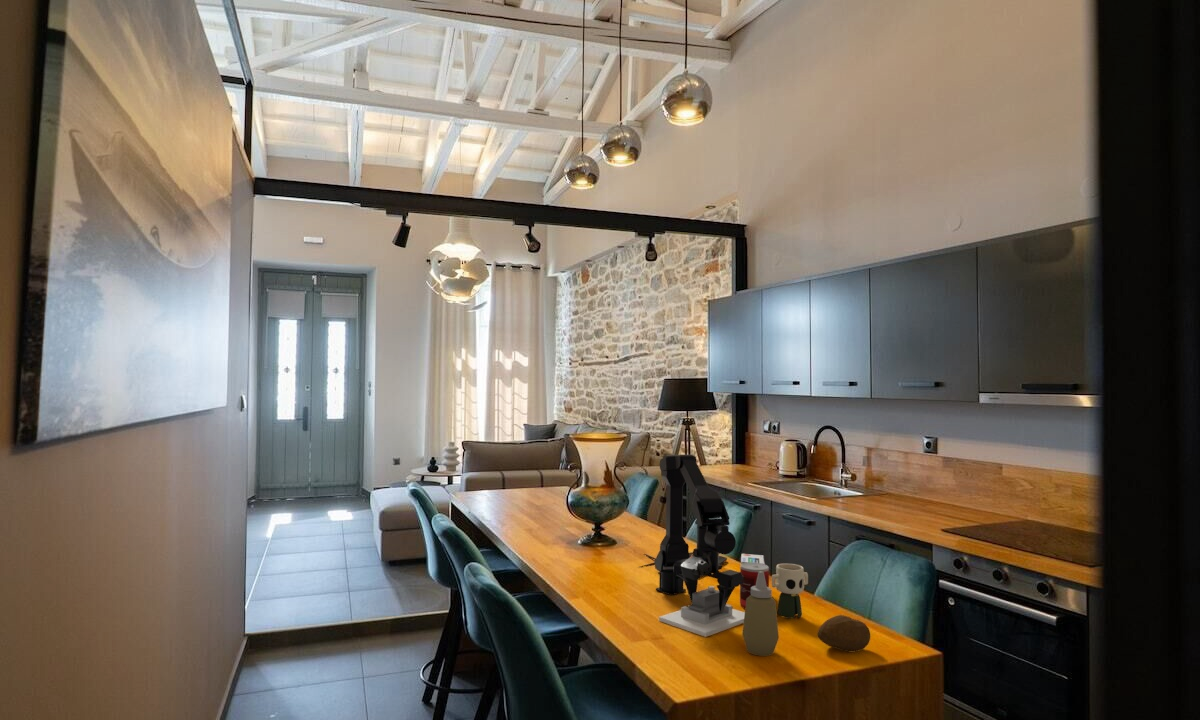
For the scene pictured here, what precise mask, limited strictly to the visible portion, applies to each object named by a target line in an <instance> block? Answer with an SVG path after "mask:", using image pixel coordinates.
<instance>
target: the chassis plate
mask: <svg viewBox="0 0 1200 720" xmlns="http://www.w3.org/2000/svg"><path fill="white" fill-rule="evenodd" d="M744 616H745V611H741V610H738V609H734V608H733V605H731V604H727V603H726V605H725V607H724V610H723V611H721V614H718V615H715V616H712V617H709V614H708V613H705V612H699V611H696V610H693V609H689V608H688V606H686V605H684V606H681V608H680V609H679V610H677V611H674V612H673V611H672V612H670V613H666V614H664V615H660V616H658V621H659V622H661V623H665V624H667V625H669V626H673V627H675V628H679V629H682V630H684V631H688V632H689V633H693V634H697V635H699V636H702V637H705V638H706V637H709V636H712V635H714V634H717V633H720V632H723V631H726V630H728V629H730V628H735V626H739V625H741V624H742V625H743V624H744Z"/></svg>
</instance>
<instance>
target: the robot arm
mask: <svg viewBox="0 0 1200 720" xmlns="http://www.w3.org/2000/svg"><path fill="white" fill-rule="evenodd" d="M659 470H660V476H661V478H662V479H663V481H664V483H665V484H666V498H665V499H666V500H665V501H666V505H665V507H666V508H665V510H666V511H665V513H666V516H665V517H666V518H665V535H664V537H663V538H662V540H661V542H660V544H659V551H658V553H657V555H656V557H655V558H656V559H655V560H654V562H655V564H654V569H655V570H657V571H658V572H659V581H658V586H659V587H656V588H655V591H657V592H660V593H663V594H667V595H670V596H674V595H677V594H681V593H684V592H686V591H687V593H688V596H689V600H690V602H691V603H692V593H695V592H698V591H697V590H698V583H699V579H700V578H701V577H702V576H703V577H709V578H713V579H716V582H717V583H718V584H717V585H716V588H717V589H718V591H719V610H720V611H723V610H724V607H725V605H726V604H727V603H728V602H729V598H730V596H731V595H732V594H733V591H734V590H735V589H736V588H737V587H740V584H743V575H742V573H741V572H740V571H737V570H732V569H728V570H724V571H720V570H722V569H723V568H722V566H723V565H722V564H720V565H719V556H720V555H728V554H730V553H732V552H733V551H734V549H735V547H736V543H737V540H736V537H735V535H734V534H733V533H732V532H730V531H729V530H730V529H729V526H730V515H729V513H728V509H727V508H726V504H725V502H724V501H723V499H722V497H721V496H720V494H718V492H717V491H716V490H714V489H712V488H711V487H710V486H709V484H708V482H707V481H706V479H705V477H704V475H703V472H702V470H701V469H700V467H699V465H698V462H697V457H696V455H693V454H664V455H663V457H662V458H660V459H659ZM685 483H686V485H687V487H688V489H689V492H690V494H691V496H692V502H691V508H692V513H693V515H694V518H695V522H694V524H695V525H696V548H693V550H692V552H693V555H692V557H691V558H690V555H689V553H690V552H689V549H690V548H689V544H688V542H686V540H685V539H684V537H683V527H684V526H683V523H684V522H683V513H684V510H683V507H684V506H683V505H684V503H683V502H684V485H685ZM684 585H685V587H686V589H685V588H684Z"/></svg>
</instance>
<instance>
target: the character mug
mask: <svg viewBox="0 0 1200 720" xmlns="http://www.w3.org/2000/svg"><path fill="white" fill-rule="evenodd" d="M804 570H805V569H804V567H803V566H802V565H800V564H795V563H778V564H776V567H775V573H776V574H772V575H771V587H772V588H776V590H777V591H778V592H780V594H779V597H778V604H777V609H776V613H777V614H778V615H779V616H781V617H782V618H787V619H795V618H796V615H797V618H798V619H799V618H802V616H803V615H802V614H803V613H802V603H801V597H800V595H799V594H801V593H803V592H804V590H805V585H808V584H809V574H808V572H805V571H804Z"/></svg>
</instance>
